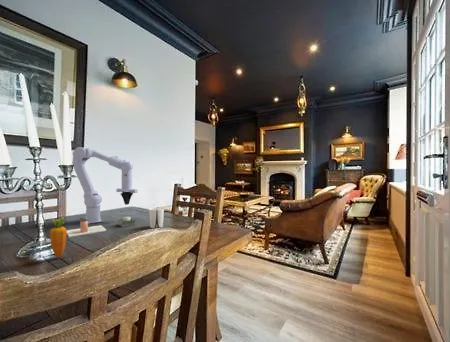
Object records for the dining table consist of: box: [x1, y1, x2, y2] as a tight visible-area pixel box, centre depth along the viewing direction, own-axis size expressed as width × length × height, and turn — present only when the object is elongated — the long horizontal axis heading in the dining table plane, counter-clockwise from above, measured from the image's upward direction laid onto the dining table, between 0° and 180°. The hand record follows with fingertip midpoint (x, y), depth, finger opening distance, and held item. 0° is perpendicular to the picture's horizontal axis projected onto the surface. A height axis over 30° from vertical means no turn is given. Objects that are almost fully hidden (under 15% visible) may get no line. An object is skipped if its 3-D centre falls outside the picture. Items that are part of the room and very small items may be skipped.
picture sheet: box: [66, 224, 107, 238], centre depth 116 cm, size 11×16×1 cm
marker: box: [79, 216, 89, 233], centre depth 113 cm, size 3×3×7 cm
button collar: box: [117, 217, 136, 228], centre depth 128 cm, size 7×7×3 cm
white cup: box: [148, 207, 165, 229], centre depth 125 cm, size 8×8×10 cm
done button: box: [121, 216, 132, 221], centre depth 128 cm, size 4×4×4 cm
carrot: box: [49, 216, 68, 259], centre depth 83 cm, size 5×5×15 cm
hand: (126, 204), depth 138 cm, fingers closed
